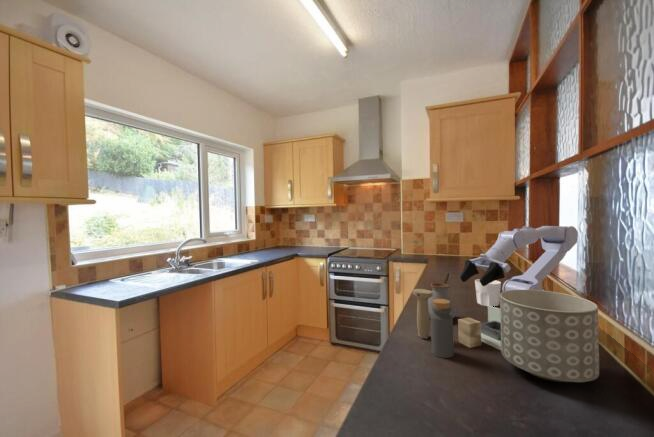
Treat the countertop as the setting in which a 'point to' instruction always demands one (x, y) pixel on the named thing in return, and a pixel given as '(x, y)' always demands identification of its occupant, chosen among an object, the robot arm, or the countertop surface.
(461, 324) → the oak post
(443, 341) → the bottle
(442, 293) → the coffee pot
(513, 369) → the countertop surface
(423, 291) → the handle
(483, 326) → the grey square frame
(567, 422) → the countertop surface
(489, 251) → the robot arm
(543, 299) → the planter
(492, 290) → the cup
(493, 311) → the mounting board
